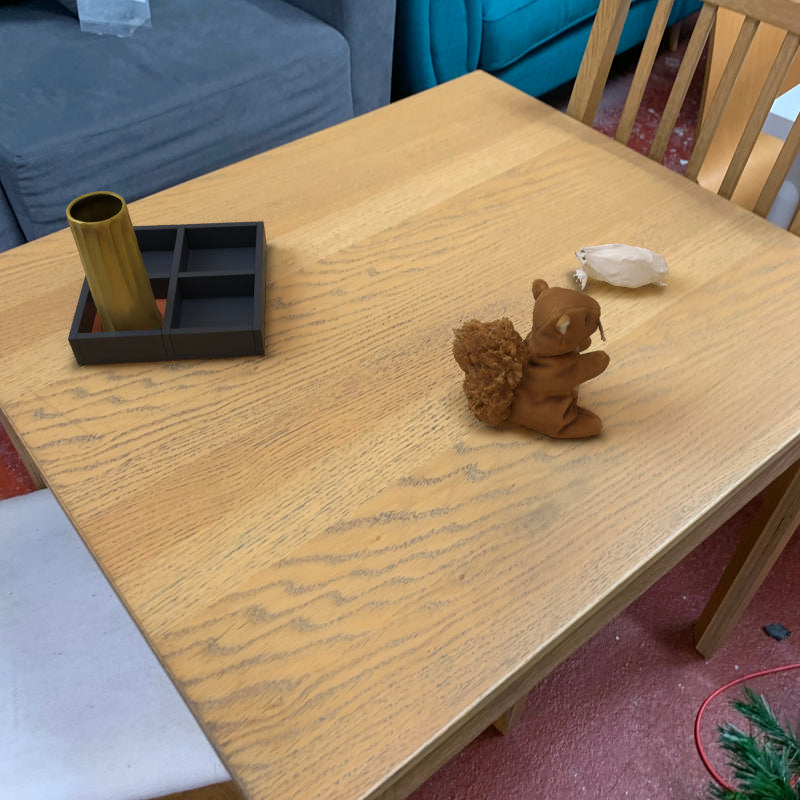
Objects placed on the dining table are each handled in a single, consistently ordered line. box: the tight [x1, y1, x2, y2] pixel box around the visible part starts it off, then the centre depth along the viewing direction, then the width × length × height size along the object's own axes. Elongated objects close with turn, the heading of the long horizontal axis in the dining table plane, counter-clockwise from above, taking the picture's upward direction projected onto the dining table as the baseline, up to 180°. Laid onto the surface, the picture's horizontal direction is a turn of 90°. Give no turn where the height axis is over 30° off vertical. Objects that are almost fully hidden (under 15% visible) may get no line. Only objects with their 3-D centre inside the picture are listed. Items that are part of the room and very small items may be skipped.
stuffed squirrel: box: [451, 278, 611, 439], centre depth 69 cm, size 10×14×13 cm
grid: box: [67, 220, 268, 366], centre depth 82 cm, size 18×18×4 cm
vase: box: [65, 190, 162, 332], centre depth 74 cm, size 6×6×14 cm
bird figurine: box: [573, 243, 670, 291], centre depth 85 cm, size 5×7×10 cm
